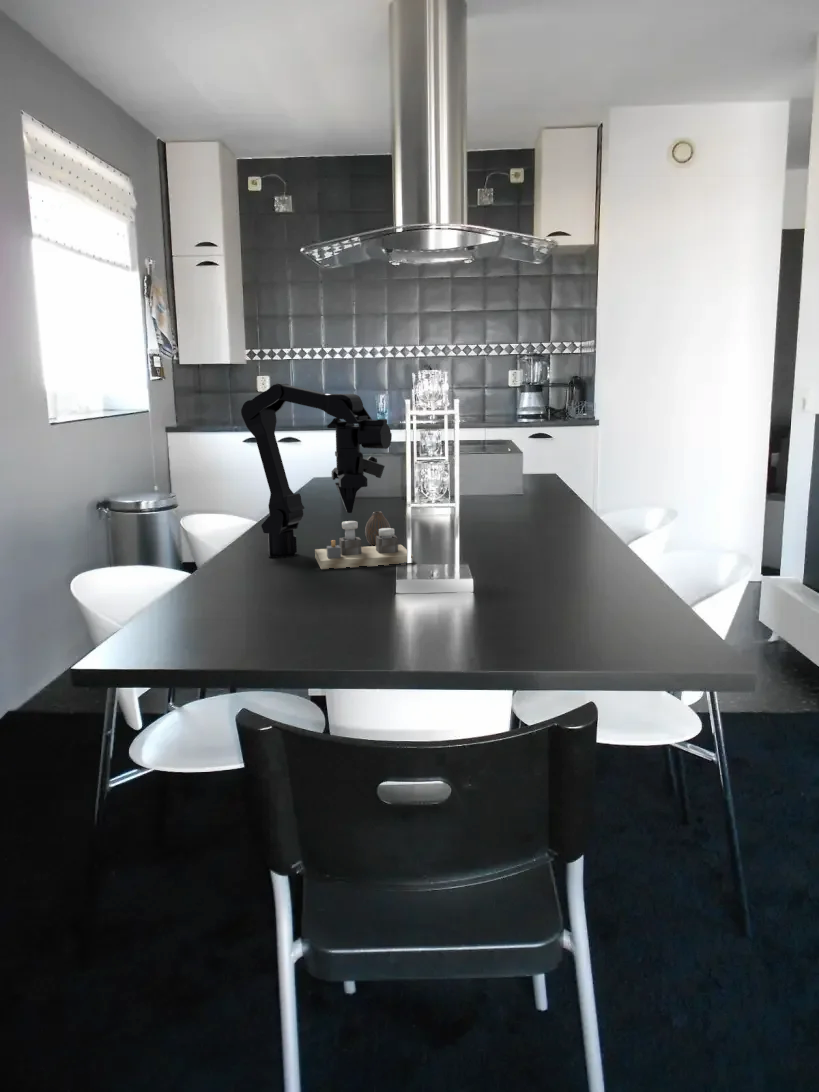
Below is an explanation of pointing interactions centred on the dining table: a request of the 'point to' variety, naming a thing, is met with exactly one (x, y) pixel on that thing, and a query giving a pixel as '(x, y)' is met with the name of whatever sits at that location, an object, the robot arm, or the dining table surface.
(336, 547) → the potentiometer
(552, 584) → the dining table surface
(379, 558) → the mount board
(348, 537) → the knob
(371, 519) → the vase
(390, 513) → the dining table surface
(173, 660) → the dining table surface
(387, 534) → the knob
